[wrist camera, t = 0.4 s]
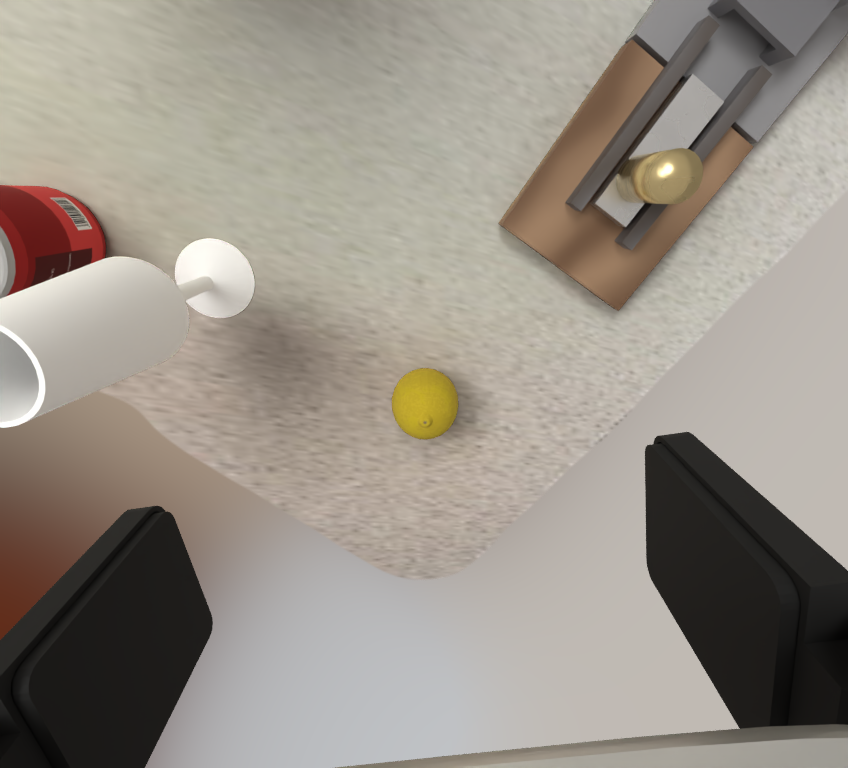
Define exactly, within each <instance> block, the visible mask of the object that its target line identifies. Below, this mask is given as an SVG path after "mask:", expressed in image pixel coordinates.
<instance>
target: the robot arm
mask: <svg viewBox="0 0 848 768" xmlns="http://www.w3.org/2000/svg"><path fill="white" fill-rule="evenodd" d="M645 481H646V482H645V484H646V553H647V554H646V555H647V567H648V571H649V574H650V577H651V579H652V581H653V583H654V585H655V587H656V588H657V590H658V592H659V593H660V595H661V597H662V598H663V600H664V602H665V603H666V605H667V607H668V608H669V610H670V612H671V613H672V615H673V617H674V619H675V620H676V622H677V624H678V625H679V627H680V629H681V630H682V632H683V634H684V635H685V637H686V639H687V641H688V642H689V644H690V645H691V647H692V649H693V651H694V652H695V654H696V656H697V657H698V659H699V661H700V662H701V664H702V666H703V667H704V669H705V671H706V673H707V674H708V676H709V678H710V679H711V681H712V683H713V684H714V686H715V688H716V689H717V691H718V693H719V694H720V696H721V698H722V700H723V701H724V703H725V705H726V706H727V708H728V710H729V711H730V713H731V714H732V716H733V718H734V720H735V721H736V723H737V725H738V726H739V728H740V729H731V730H718V731H706V732H694V733H681V734H669V735H657V736H646V737H645V736H644V737H635V738H624V739H613V740H604V741H593V742H584V743H573V744H563V745H553V746H544V747H533V748H522V749H512V750H503V751H492V752H482V753H472V754H463V755H452V756H442V757H433V758H424V759H415V760H405V761H395V762H385V763H376V764H366V765H357V766H347V767H338V768H848V571H847V570H846V569H845V568H844V567H843V566H842V565H841V564H840V563H838V562H837V561H836V560H835V559H834V558H833V557H832V556H830V555H829V554H828V553H827V552H826V551H825V550H824V549H822V548H821V547H820V546H819V545H818V544H817V543H815V542H814V541H813V540H812V539H811V538H810V537H809V536H808V535H807V534H805V533H804V532H803V531H802V530H801V529H800V528H799V527H797V526H796V525H795V524H794V523H793V522H792V521H791V520H789V519H788V518H787V517H786V516H785V515H784V514H783V513H781V512H780V511H779V510H778V509H777V508H776V507H775V506H774V505H772V504H771V503H770V502H769V501H768V500H767V499H765V498H764V497H763V496H762V495H761V494H760V493H758V491H756V490H755V489H754V488H753V487H752V486H751V485H750V484H748V483H747V482H746V481H745V480H744V479H743V478H742V477H741V476H739V475H738V474H737V473H736V472H735V471H734V470H733V469H731V468H730V467H729V466H728V465H727V464H726V463H725V462H723V461H722V460H721V459H720V458H719V457H718V456H717V455H716V454H714V453H713V452H712V451H711V450H710V449H709V448H707V447H706V446H705V445H704V444H703V443H702V442H700V441H699V440H698V439H697V438H696V437H695V436H694V435H693V434H691V433H689V432H684V433H677V434H669V435H662V436H657V437H656V438H655V440H654V444H653V445H647V447H646V449H645ZM212 624H213V622H212V615H211V612H210V610H209V607H208V605H207V602H206V599H205V597H204V594H203V592H202V589H201V586H200V584H199V581H198V579H197V576H196V574H195V571H194V568H193V566H192V563H191V560H190V558H189V555H188V553H187V550H186V547H185V545H184V542H183V539H182V537H181V534H180V532H179V529H178V527H177V524H176V521H175V519H174V517H173V515H172V514H171V513H170V512H165V510H164V509H163V508H162V507H160V506H152V507H145V508H138V509H131V510H127V511H126V512H124V513H123V514H122V515H121V516H120V517H119V518H118V520H116V521H115V523H114V524H113V525H112V526H111V527H110V528H109V529H108V530H107V531H106V532H105V533H104V534H103V535H102V536H101V537H100V538H99V539H98V540H97V541H96V542H95V543H94V544H93V545H92V546H91V547H90V548H89V549H88V550H87V552H86V553H85V554H84V555H83V556H82V557H81V558H80V559H79V560H78V561H77V562H76V563H75V564H74V565H73V566H72V567H71V568H70V569H69V570H68V571H67V572H66V573H65V574H64V575H63V576H62V577H61V578H60V579H59V580H58V581H57V582H56V584H54V586H53V587H52V588H51V589H50V590H49V591H48V592H47V593H46V594H45V595H44V596H43V597H42V598H41V599H40V600H39V601H38V602H37V603H36V604H35V605H34V606H33V607H32V608H31V609H30V610H29V611H28V612H27V613H26V615H24V617H23V618H22V619H21V620H20V621H19V622H18V623H17V624H16V625H15V626H14V627H13V628H12V629H11V630H10V631H9V632H8V633H7V634H6V635H5V636H4V637H3V638H2V639H1V640H0V768H145V766H146V764H147V762H148V760H149V758H150V756H151V754H152V752H153V750H154V748H155V746H156V744H157V742H158V740H159V738H160V736H161V734H162V732H163V730H164V728H165V726H166V724H167V722H168V719H169V718H170V716H171V714H172V712H173V710H174V707H175V705H176V704H177V701H178V700H179V698H180V696H181V693H182V692H183V689H184V687H185V685H186V683H187V681H188V679H189V677H190V675H191V673H192V671H193V669H194V667H195V665H196V663H197V661H198V659H199V657H200V655H201V653H202V651H203V649H204V647H205V645H206V643H207V641H208V639H209V637H210V634H211V631H212Z"/></svg>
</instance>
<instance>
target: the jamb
mask: <svg viewBox="0 0 848 768" xmlns="http://www.w3.org/2000/svg"><path fill="white" fill-rule="evenodd" d="M707 16H711V17H712V18H713V19H714V20H715V21H716V22H717V23H718V24H719V25H720V26H719V27H718V29H717V30H716V31H715V33H714V34H713V35H712V37H711V38H710V39H709V41H708V42H707V43H706V45H705V46H704V47H703V49H702V50H701V51H700V53H699V54H698V55H697V57H696V58H695V59H694V61H693V62H692V63H691V65H690V66H689V67H688V69H687V70H686V71H685V73H684V74H683V75H682V77H681V78H680V80H679V81H681V79H682V78H684V77H686V76H689V75H691V74H694V75H695V76H696V77H697V78H698V79H699V80H700V81H702V82H703V83H704V84H705V85H706V86H707V87H708V88H709V89H710V90H712V91H713V92H714V93H715V94H716V95H717V96H718V97H719V98H721V99H722V100H723V101H724V100H725V99H726V98H727V96H728V95H729V94H730V93H731V91H732V90H733V89H734V88H735V86H736V85H737V84H738V82H739V81H740V80H741V79H742V77H743V76H744V75H745V74H746V72H747V71H748V70H750V69H753V68H755V67H758V66H761V65H763V66H764V67H765V68H766V69H767V70H768V71H769V72H770V73H771V74H772V76H771V77H770V78H769V79H768V81H767V82H766V83H765V84H764V86H763V87H762V88H761V89H760V91H759V92H758V93H757V94H756V96H755V97H754V98H753V99H752V101H751V102H750V103H749V104H748V106H747V107H746V108H745V109H744V111H743V112H742V113H741V114H740V116H739V117H738V118H737V119H736V121H735V122H734V123H733V124H732V126H731V127H732V128H733V129H734V130H735V131H736V132H737V133H738V134H740V135H741V136H742V137H743V138H744V139H745V140H746V141H747V142H749V143H754V142H758V141H759V140H760V139H761V137H762V136H763V135H764V134H765V132H766V131H767V130H768V129H769V128H770V126H771V125H772V124H773V123H774V122H775V120H776V119H777V118H778V117H779V116H780V114H781V113H782V112H783V111H784V109H785V108H786V107H787V106H788V105H789V103H790V102H791V101H792V100H793V99H794V97H795V96H796V95H797V94H798V92H799V91H800V90H801V89H802V88H803V86H804V85H805V84H806V83H807V82H808V80H809V79H810V78H811V77H812V76H813V74H814V73H815V72H816V71H817V69H818V68H819V67H820V66H821V65H822V63H823V62H824V61H825V60H826V59H827V57H828V56H829V55H830V54H831V52H832V51H833V50H834V49H835V48H836V46H837V45H838V44H839V43H840V42H841V40H842V39H843V38H844V37H845V36H846V34H847V33H848V0H654V1H653V3H652V4H651V6H650V7H649V9H648V10H647V11H646V13H645V14H644V16H643V17H642V19H641V20H640V21H639V23H638V24H637V26H636V27H635V29H634V30H633V31H632V33H631V34H630V36H629V37H628V39H627V40H626V41H625V42H626V43H628V42H629V41H630V40H634V41H635V42H636V43H637V44H638V45H639V46H640V47H641V48H643V49H644V50H645V51H646V52H647V53H648V54H649V55H650V56H652V57H653V58H654V59H655V60H656V61H657V62H658V63H659V64H661V65H662V66H663V67H665V66H666V64H667V63H668V61H669V60H670V59H671V57H672V56H673V55H674V53H675V52H676V51H677V49H678V48H679V46H680V45H681V44H682V42H683V41H684V40H685V38H686V37H687V35H688V34H689V33H690V31H691V30H692V29H693V27H694V26H695V25H696V23H697V22H699V21H701V20H702V19H704V18H705V17H707Z"/></svg>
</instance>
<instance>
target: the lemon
mask: <svg viewBox="0 0 848 768" xmlns="http://www.w3.org/2000/svg"><path fill="white" fill-rule="evenodd" d="M392 410H393V414H394V417H395V420H396V421H397V423H398V425H399V426H400V428H401V429H402V430H403V431H404V432H405V433H407V434H409V435H410V436H412V437H415V438H418V439H432V438H435V437H438V436H440V435H442V434H443V433H445V432H446V431H447V430H448V429H449V428H450V426H451V425H452V424H453V422H454V420H455V417H456V415H457V410H458V396H457V392H456V390H455V387H454V385H453V384H452V382H451V381H450V380H449V378H448V377H446V376H445V375H444V374H443V373H441V372H439V371H437V370H434V369H429V368H420V369H417V370H413V371H411V372H409V373H408V374H406V375H405V376H404V377H403V378H402V379H401V380H400V381H399V382H398V384H397V386H396V387H395V389H394V393H393V396H392Z"/></svg>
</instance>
